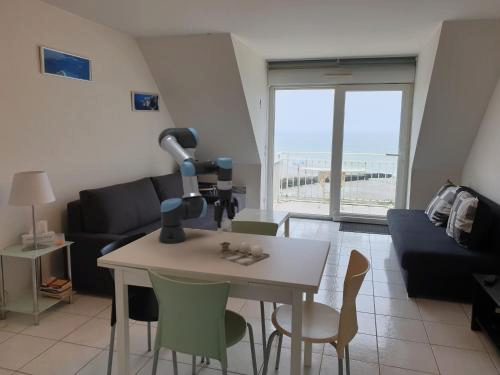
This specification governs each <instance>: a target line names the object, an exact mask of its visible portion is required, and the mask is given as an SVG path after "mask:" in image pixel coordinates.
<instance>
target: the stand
mask: <svg viewBox="0 0 500 375" xmlns="http://www.w3.org/2000/svg"><path fill="white" fill-rule="evenodd" d="M219 245H220V246H221V247H222V249H220V250H219V251H220V252H221V253H222V254H226V253H229V252H231V249H230V248H229V247H230V246H231V243H230V242H227V241H223V242H220V244H219Z"/></svg>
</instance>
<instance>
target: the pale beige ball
mask: <svg viewBox="0 0 500 375" xmlns="http://www.w3.org/2000/svg"><path fill="white" fill-rule="evenodd" d="M237 249H238V250H239V252H240V253H243V254H244V253H247V252H248V251H249V249H251V248H250V244H249V243H248V242H247V241H241V242H239V243H238V245H237Z"/></svg>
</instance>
